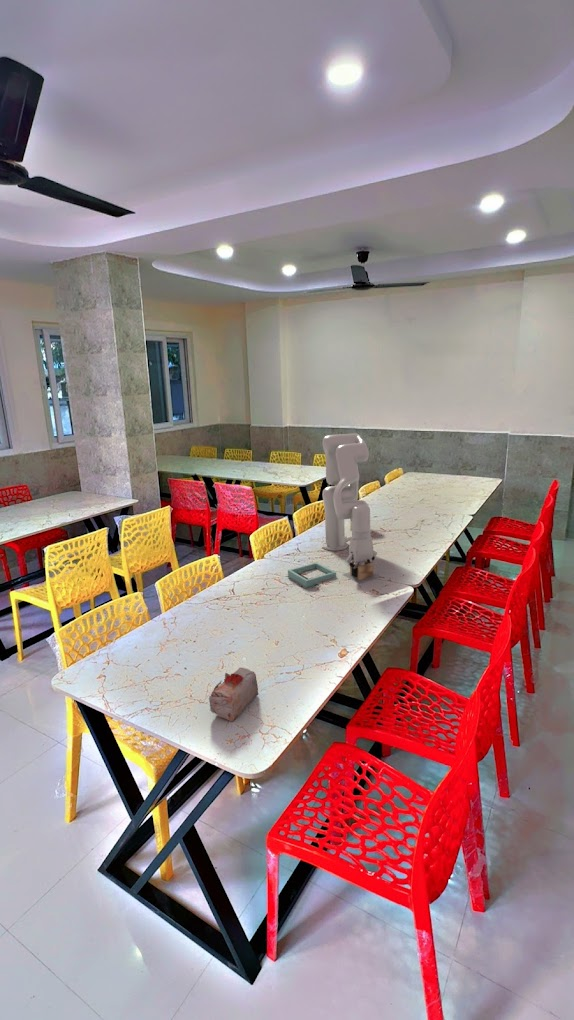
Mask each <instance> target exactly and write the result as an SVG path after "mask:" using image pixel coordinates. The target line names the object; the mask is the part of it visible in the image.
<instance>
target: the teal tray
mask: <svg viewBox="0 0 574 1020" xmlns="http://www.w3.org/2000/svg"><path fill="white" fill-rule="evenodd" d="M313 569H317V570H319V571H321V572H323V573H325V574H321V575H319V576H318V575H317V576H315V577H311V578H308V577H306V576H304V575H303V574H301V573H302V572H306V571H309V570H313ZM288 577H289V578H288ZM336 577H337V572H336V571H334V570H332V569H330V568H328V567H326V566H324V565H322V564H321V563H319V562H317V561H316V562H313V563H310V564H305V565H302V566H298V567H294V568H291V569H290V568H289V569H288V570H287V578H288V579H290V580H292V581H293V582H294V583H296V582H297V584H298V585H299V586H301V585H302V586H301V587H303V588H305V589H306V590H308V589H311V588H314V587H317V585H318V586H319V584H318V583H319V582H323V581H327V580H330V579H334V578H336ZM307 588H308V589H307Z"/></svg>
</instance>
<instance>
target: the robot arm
mask: <svg viewBox="0 0 574 1020" xmlns="http://www.w3.org/2000/svg"><path fill="white" fill-rule="evenodd" d="M322 448H323V452H324V455H325V479H326V483H327V484H329V486H327V487H325V488H324V489H323V490H322V500H323V507H324V523H325V526H324V527H325V529H324V531H325V542H324V543H323V544H322V548H323V549H324V550H326V551H330V552H335V551H336V552H338V551H343V550H346V549H347V548H348V556H347V558H346V559H345V563H346V564H347V565H348V566H349V567H351V569H352V576H354V577H357V568H356V567H357V564H358V562H361V561H364V560H366V561H368V562H370V563H372V564H373V565H374V560H375V559H376V557H377V555H378V552H377V551H375V550H374V544H373V538H372V536H371V533H372V532H373V530H372V528H371V507H370V506H369V504H368V503H367V502H366V500H361V499H360V500H359V499H358V497H359V480H360V473H359V466H358V463H363V462H367V461H368V460H369V456H370V453H369V452H370V451H369V448H368V445H367V442H366V441H365V440H364V439H363V437H362V436H361V435H360V434H358V433H354V432H353V433H341V434H340V433H338V434H336V433H335V434H329V435H325V436H324V437H323V439H322ZM330 485H331V486H330ZM350 519H352V530H351V533H352V534H351V535H352V536H349V537H347V536H346V535H345V520H350ZM348 542H349V544H348ZM354 562H355V564H354Z"/></svg>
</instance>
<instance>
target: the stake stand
mask: <svg viewBox="0 0 574 1020" xmlns="http://www.w3.org/2000/svg"><path fill="white" fill-rule="evenodd" d="M358 563H359V565H360V566H362V565H365V560H364V561H361V562H358ZM342 576H344V577H346V578H348V579H350V580H352V581H354V582H356V583H358V584H359V585H360V584H362V583H365V582H369V581H372V580H375V579H379V578H382V577H383V576H382V575H380V574H378V573H375V572H374V576H372V577H369V578H366V579H362V580H359V579H357V578H355V577H353V576H351V575H350V571H349V572H347V573H342Z"/></svg>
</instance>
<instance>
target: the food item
mask: <svg viewBox="0 0 574 1020" xmlns="http://www.w3.org/2000/svg"><path fill="white" fill-rule="evenodd" d="M259 694H260V693H259V687H258V680H257V676H256V673H255V671H252V670H250V669H248V668H245V667H238V669H237V670H236V671H234V672H232V673H231V674H230V673H227V672H225V674H224V679H223V681H220V682H218V683H217V684H216V685H215V686H214V688H213V690H212V692H211V694H210V695H209V698H208V700H209V711H210V712H211V713H212V714H216V715H217V716H218V717H219V718H223V719H225V720H227V721H229V722H233V721H235V720H236V718H237V717H239V715H240V714H241V713H242V712H243V711H244V710H245V709H246V708H247V707H248V706H249V705H250V704H251V703H252V702H253V701H254V699H256V697H258V695H259Z"/></svg>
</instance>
